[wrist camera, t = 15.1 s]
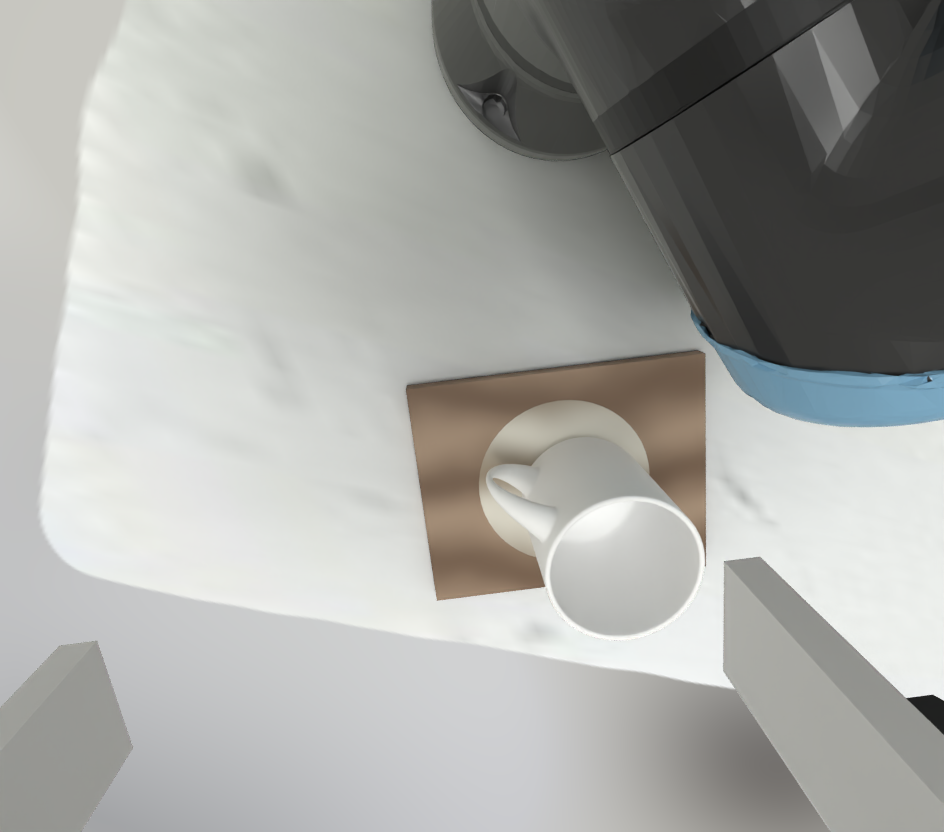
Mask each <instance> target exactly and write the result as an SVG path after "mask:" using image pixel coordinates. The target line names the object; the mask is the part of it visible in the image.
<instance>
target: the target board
mask: <svg viewBox="0 0 944 832" xmlns="http://www.w3.org/2000/svg"><path fill="white" fill-rule="evenodd" d="M406 393H407V400H408V407H409V413H410V420H411V427H412V434H413V441H414V448H415V454H416V461H417V468H418V475H419V482H420V488H421V495H422V502H423V509H424V516H425V522H426V529H427V536H428V543H429V550H430V556H431V563H432V570H433V577H434V584H435V590H436V597H437V601H438V600H445V599H453V598H461V597H469V596H477V595H485V594H493V593H501V592H509V591H516V590H524V589H532V588H540V587H545V584H544V581H543V577H542V574H541V571H540V568H539V564H538V561H537V558H536V555H535V551H534V548H533V545H532V542H531V538H530V535H529V532H528V530H527V529H525V528H524V527H523V526H522V525H520V524H519V523H518V522H517V521H516V520H514V519H513V518H512V517H511V516H510V515H509V514H508V513H507V512H506V511H505V510H504V509H503V508H502V507H501V506H500V505H499V504H498V503H497V502H496V501H495V499H494V498H493V496H492V495H491V493H490V491H489V489H488V487H487V484H486V475H487V473H488V471H489V470H490V469H491V468H493V467H495V466H498V465H502V464H520V465H528V466H532V464H533V463H534V462H535V461H536V459H537V458H538V457H539V456H540V455H541V454H542V453H544V452H545V451H546V450H548V449H549V448H550V447H552V446H554V445H556V444H558V443H560V442H562V441H565V440H568V439H572V438H578V437H594V438H599V439H604V440H606V441H609V442H612V443H614V444H616V445H617V446H619V447H621V448H622V449H624V450H625V451H626V452H627V453H629V454H630V455H631V456H632V457H633V458H634V459H635V460H636V461H637V462H638V464H639V465H640V466H641V467H642V468H643V469H644V470H645V471H646V472H647V473H648V474H649V476H650V477H651V478H652V479H653V480H654V481H655V482H656V483H657V484H658V485H659V486H660V488H661V489H662V490H663V491H664V492H665V493H666V494H667V495H668V496H669V497H670V498H671V500H672V501H673V502H674V503H675V504H676V505H677V506H678V507H679V508H680V509H681V510H682V512H683V513H684V514H685V515H686V516H687V517H688V518H689V519H690V521H691V522H692V523H693V524H694V526H695V527H696V529H697V531H698V533H699V535H700V537H701V540H702V543H703V547H704V552H705V566H706V446H705V353H703V352H700V351H690V352H681V353H673V354H665V355H657V356H648V357H640V358H632V359H623V360H615V361H607V362H599V363H590V364H582V365H574V366H565V367H557V368H549V369H540V370H532V371H524V372H516V373H507V374H499V375H491V376H482V377H474V378H466V379H457V380H449V381H441V382H433V383H424V384H416V385H408V386H407V388H406ZM493 481H494V482H495V483H496V484H497V485H499V486H500V487H501V488H503V489H505V490H507V491H508V492H510V493H512V494H515V495H517V496H519V497H522V492H520V491H519V490H518V489H516V488H515V487H514V486H512V485H510V484H509V483H507V482H505V481H503V480H501V479H498V478H493Z"/></svg>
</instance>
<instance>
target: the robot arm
mask: <svg viewBox="0 0 944 832" xmlns="http://www.w3.org/2000/svg"><path fill="white" fill-rule="evenodd" d="M432 29H433V39H434V45H435V50H436V55H437V59H438V62H439V66H440V69H441V71H442V74H443V77H444V79H445V82H446V84H447V86H448V88H449V90H450V92H451V94H452V96H453V97H454V99H455V101H456V102H457V104H458V105H459V107H460V108H461V110H462V111H463V112H464V114H465V115H466V116H467V117H468V118H469V120H470V121H471V122H472V123H473V124H474V125H475V126H476V127H477V128H478V129H479V130H480V131H482V132H483V133H484V134H485V135H486V136H488V137H489V138H490V139H492V140H493V141H495V142H496V143H498V144H499V145H501V146H503V147H505V148H507V149H509V150H511V151H513V152H515V153H518V154H521V155H524V156H527V157H531V158H535V159H541V160H551V161H564V160H574V159H580V158H584V157H588V156H591V155H594V154H597V153H600V152H602V151H605V150H607V149H608V151H609V153H610V154H611V155H610V157H611V159H612V161H613V163H614V165H615V167H616V168H617V170H618V172H619V174H620V176H621V178H622V180H623V182H624V183H625V185H626V187H627V189H628V191H629V193H630V195H631V197H632V198H633V200H634V202H635V204H636V206H637V208H638V210H639V211H640V213H641V215H642V217H643V219H644V221H645V223H646V225H647V226H648V228H649V230H650V232H651V234H652V236H653V238H654V239H655V241H656V243H657V245H658V247H659V249H660V251H661V253H662V254H663V256H664V258H665V260H666V262H667V264H668V266H669V268H670V269H671V271H672V273H673V275H674V277H675V279H676V281H677V282H678V284H679V286H680V288H681V290H682V292H683V294H684V296H685V297H686V299H687V301H688V303H689V305H690V307H691V318H692V320H693V322H694V324H695V326H696V328H697V329H698V331H699V332H700V334H701V335H702V336H703V337H704V338H705V339H706V340H707V341H708V342H709V343H710V344H711V345H712V346H713V347H714V348H715V350H716V351H717V353H718V355H719V356H720V358H721V360H722V361H723V363H724V365H725V366H726V368H727V370H728V371H729V373H730V375H731V376H732V378H733V379H734V381H735V382H736V384H737V385H738V386H739V387H740V388H741V389H742V390H743V391H744V392H745V393H746V394H747V395H749V396H751V397H753V398H754V399H755V400H757V401H758V402H759V403H761V404H762V405H763V406H765V407H767V408H769V409H771V410H772V411H774V412H776V413H779V414H782V415H785V416H788V417H791V418H794V419H797V420H801V421H805V422H810V423H815V424H822V425H830V426H840V427H888V426H901V425H911V424H918V423H926V422H932V421H938V420H943V419H944V0H432ZM723 671H724V673H725V674H726V676H727V677H728V679H729V680H730V682H731V683H732V685H733V686H734V688H735V689H736V691H737V692H738V694H739V695H740V697H741V698H742V700H743V701H744V703H745V704H746V706H747V707H748V709H749V710H750V712H751V713H752V715H753V716H754V718H755V719H756V721H757V722H758V724H759V725H760V727H761V728H762V730H763V731H764V733H765V734H766V736H767V737H768V739H769V740H770V742H771V743H772V745H773V746H774V748H775V749H776V751H777V752H778V754H779V755H780V757H781V758H782V760H783V761H784V763H785V764H786V766H787V767H788V769H789V770H790V772H791V773H792V775H793V776H794V778H795V779H796V781H797V782H798V784H799V785H800V787H801V788H802V790H803V791H804V793H805V794H806V796H807V797H808V799H809V800H810V802H811V803H812V805H813V806H814V808H815V809H816V811H817V812H818V814H819V815H820V817H821V818H822V820H823V821H824V823H825V824H826V826H827V827H828V829H829V830H830V832H944V701H943V700H941V699H940V698H938V697H936V696H934V695H927V696H920V697H912V698H905V697H904V696H903V695H902V694H901V693H900V692H899V691H898V690H897V689H896V688H895V687H894V686H893V685H892V684H891V683H890V682H889V681H888V680H887V679H886V678H885V677H884V676H882V675H881V674H880V673H879V672H878V671H877V670H876V669H875V668H874V667H873V666H872V665H871V664H870V663H869V662H868V661H867V660H866V659H865V658H864V657H863V656H862V655H861V654H860V653H859V652H858V651H857V650H856V649H855V648H854V647H853V646H852V645H850V644H849V643H848V642H847V641H846V640H845V639H844V638H843V637H842V636H841V635H840V634H839V633H838V632H837V631H836V630H835V629H834V628H833V627H832V626H831V625H830V624H829V623H828V622H827V621H826V620H825V619H824V618H823V617H822V616H821V615H820V614H818V613H817V612H816V611H815V610H814V609H813V608H812V607H811V606H810V605H809V604H808V603H807V602H806V601H805V600H804V599H803V598H802V597H801V596H800V595H799V594H798V593H797V592H796V591H795V590H794V589H793V588H792V587H791V586H790V585H789V584H788V583H786V582H785V581H784V580H783V579H782V578H781V577H780V576H779V575H778V574H777V573H776V572H775V571H774V570H773V569H772V568H771V567H770V566H769V565H768V564H767V563H766V562H765V561H764V560H763V559H762V558H761V557H755V558H747V559H739V560H731V561H724V645H723ZM132 749H133V746H132V744H131V740H130V737H129V734H128V731H127V728H126V726H125V723H124V719H123V717H122V714H121V710H120V708H119V705H118V702H117V699H116V696H115V693H114V690H113V687H112V684H111V681H110V678H109V675H108V672H107V669H106V666H105V663H104V660H103V657H102V654H101V651H100V648H99V645H98V642H97V641H92V642H84V643H77V644H70V645H61V646H59V647H58V648H57V649H56V650H55V651H54V652H53V653H52V654H51V655H50V656H49V657H48V659H47V660H46V661H45V662H44V663H43V664H42V665H41V666H40V667H39V668H38V669H37V670H36V671H35V672H34V673H33V674H32V675H31V676H30V677H29V678H28V679H27V680H26V681H25V682H24V683H23V685H22V686H21V687H20V688H19V689H18V690H17V691H16V692H15V693H14V694H13V695H12V696H11V697H10V698H9V699H8V700H7V701H6V702H5V703H4V704H3V705H2V706H1V708H0V832H81V831H82V830H83V828H84V826H85V825H86V823H87V822H88V820H89V818H90V817H91V815H92V814H93V812H94V810H95V809H96V807H97V805H98V804H99V802H100V801H101V799H102V797H103V796H104V794H105V792H106V791H107V789H108V788H109V786H110V784H111V783H112V781H113V779H114V778H115V776H116V775H117V773H118V771H119V770H120V768H121V766H122V765H123V763H124V762H125V760H126V758H127V757H128V755H129V754H130V752H131V750H132Z"/></svg>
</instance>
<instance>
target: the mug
mask: <svg viewBox="0 0 944 832" xmlns="http://www.w3.org/2000/svg"><path fill="white" fill-rule="evenodd" d="M493 478H498V479H501V480H503V481H505V482H507V483H509V484H510V485H512V486H514V487H515V488H516V489H518V490H519V491H520V492H522V497H519V496H517V495H515V494H512V493H510V492H508V491H507V490H505V489H503V488H501V487H500V486H499V485H497V484H496V483H495V482H494V481H493ZM486 484H487V487H488V489H489V491H490V493H491V495H492V496H493V498H494V499H495V501H496V502H497V503H498V504H499V505H500V506H501V507H502V508H503V509H504V510H505V511H506V512H507V513H508V514H509V515H510V516H511V517H512V518H513V519H514V520H516V521H517V522H518V523H519V524H520V525H522V526H523V527H524V528H525V529H527V530H528V532H529V535H530V538H531V542H532V545H533V548H534V551H535V555H536V558H537V561H538V564H539V568H540V571H541V574H542V577H543V581H544V584H545V587H546V590H547V594H548V597H549V599H550V601H551V603H552V605H553V607H554V609H555V610H556V612H557V613H558V614H559V615H560V616H561V618H562V619H563V620H564V621H566V622H567V623H568V624H569V625H570V626H572V627H573V628H575V629H576V630H578V631H580V632H582V633H584V634H586V635H588V636H592V637H595V638H599V639H604V640H614V641H620V640H631V639H637V638H640V637H644V636H647V635H650V634H652V633H655V632H657V631H659V630H661V629H663V628H665V627H666V626H668V625H669V624H671V623H672V622H673V621H675V620H676V619H677V618H678V617H679V616H680V615H681V614H682V613H683V612H684V611H685V610H686V609H687V608H688V607H689V605H690V604H691V603H692V601H693V600H694V598H695V596H696V594H697V593H698V591H699V588H700V586H701V583H702V580H703V576H704V570H705V552H704V547H703V543H702V540H701V537H700V535H699V533H698V531H697V529H696V527H695V526H694V524H693V523H692V522H691V521H690V519H689V518H688V517H687V516H686V515H685V514H684V513H683V512H682V510H681V509H680V508H679V507H678V506H677V505H676V504H675V503H674V502H673V501H672V500H671V498H670V497H669V496H668V495H667V494H666V493H665V492H664V491H663V490H662V489H661V488H660V486H659V485H658V484H657V483H656V482H655V481H654V480H653V479H652V478H651V477H650V476H649V474H648V473H647V472H646V471H645V470H644V469H643V468H642V467H641V466H640V465H639V464H638V462H637V461H636V460H635V459H634V458H633V457H632V456H631V455H630V454H629V453H627V452H626V451H625V450H624V449H622V448H621V447H619V446H617V445H616V444H614V443H612V442H609V441H606V440H604V439H599V438H594V437H578V438H572V439H568V440H565V441H562V442H560V443H558V444H556V445H554V446H552V447H550V448H549V449H548V450H546V451H545V452H544V453H542V454H541V455H540V456H539V457H538V458H537V459H536V461H535V462H534V463H533V464H532V466H528V465H520V464H502V465H498V466H495V467H493V468H491V469H490V470H489V471H488V473H487V475H486Z"/></svg>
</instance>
